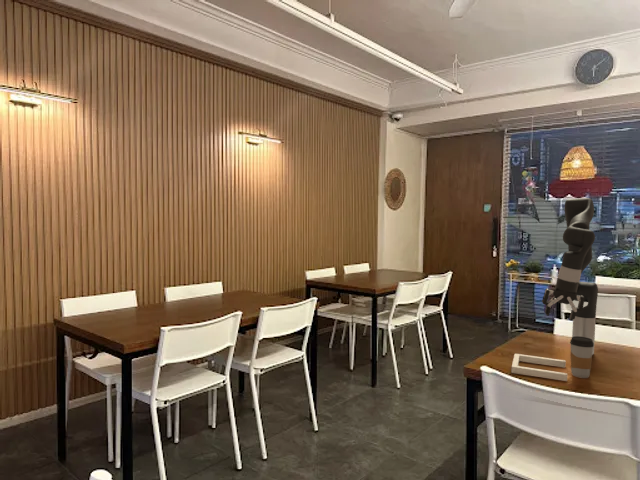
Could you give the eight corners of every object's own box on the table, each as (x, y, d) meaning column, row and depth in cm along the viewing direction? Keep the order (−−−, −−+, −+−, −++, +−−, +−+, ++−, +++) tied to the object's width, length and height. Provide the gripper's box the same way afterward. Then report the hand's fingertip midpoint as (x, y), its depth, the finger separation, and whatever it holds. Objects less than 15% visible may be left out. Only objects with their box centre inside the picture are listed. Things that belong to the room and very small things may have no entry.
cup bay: (514, 359, 205) (514, 353, 205) (565, 366, 196) (565, 360, 196) (511, 372, 187) (511, 366, 187) (567, 381, 178) (567, 374, 178)
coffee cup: (595, 380, 180) (597, 342, 179) (572, 378, 182) (574, 340, 181) (587, 372, 188) (589, 336, 188) (565, 371, 190) (567, 335, 189)
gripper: (586, 279, 181) (576, 318, 184) (547, 272, 185) (538, 310, 188) (591, 284, 174) (580, 324, 177) (550, 277, 178) (541, 316, 181)
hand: (558, 317), depth 182 cm, fingers open, 8 cm apart
